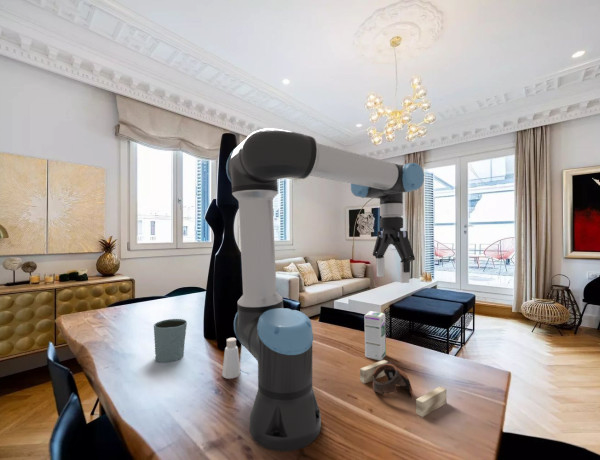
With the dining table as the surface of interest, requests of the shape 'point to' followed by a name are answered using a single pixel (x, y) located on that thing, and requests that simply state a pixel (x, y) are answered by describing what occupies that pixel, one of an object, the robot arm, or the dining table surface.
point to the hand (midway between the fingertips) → (391, 279)
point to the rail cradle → (423, 403)
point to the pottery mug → (391, 379)
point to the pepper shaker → (231, 360)
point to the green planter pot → (169, 340)
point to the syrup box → (375, 335)
